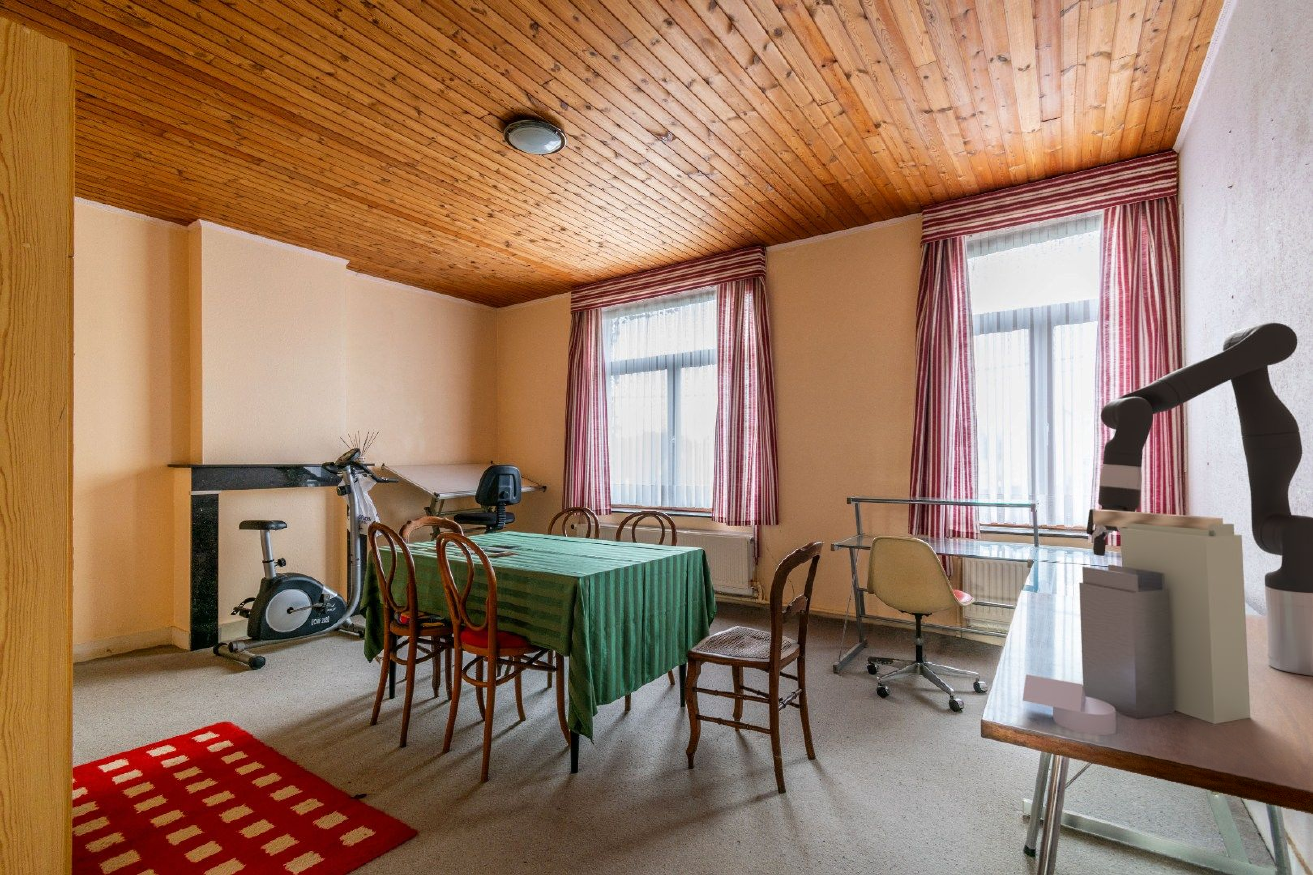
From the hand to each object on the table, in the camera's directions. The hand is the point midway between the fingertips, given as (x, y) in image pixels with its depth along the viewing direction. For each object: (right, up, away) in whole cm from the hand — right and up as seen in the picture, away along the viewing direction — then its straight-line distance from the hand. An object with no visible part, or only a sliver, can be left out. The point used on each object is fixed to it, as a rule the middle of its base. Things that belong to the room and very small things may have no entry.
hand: (1113, 558), depth 140 cm
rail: (-6, +9, -18) cm, 21 cm away
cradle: (-15, -23, -24) cm, 36 cm away
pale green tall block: (-4, -23, -24) cm, 33 cm away
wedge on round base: (-30, -23, -30) cm, 48 cm away
